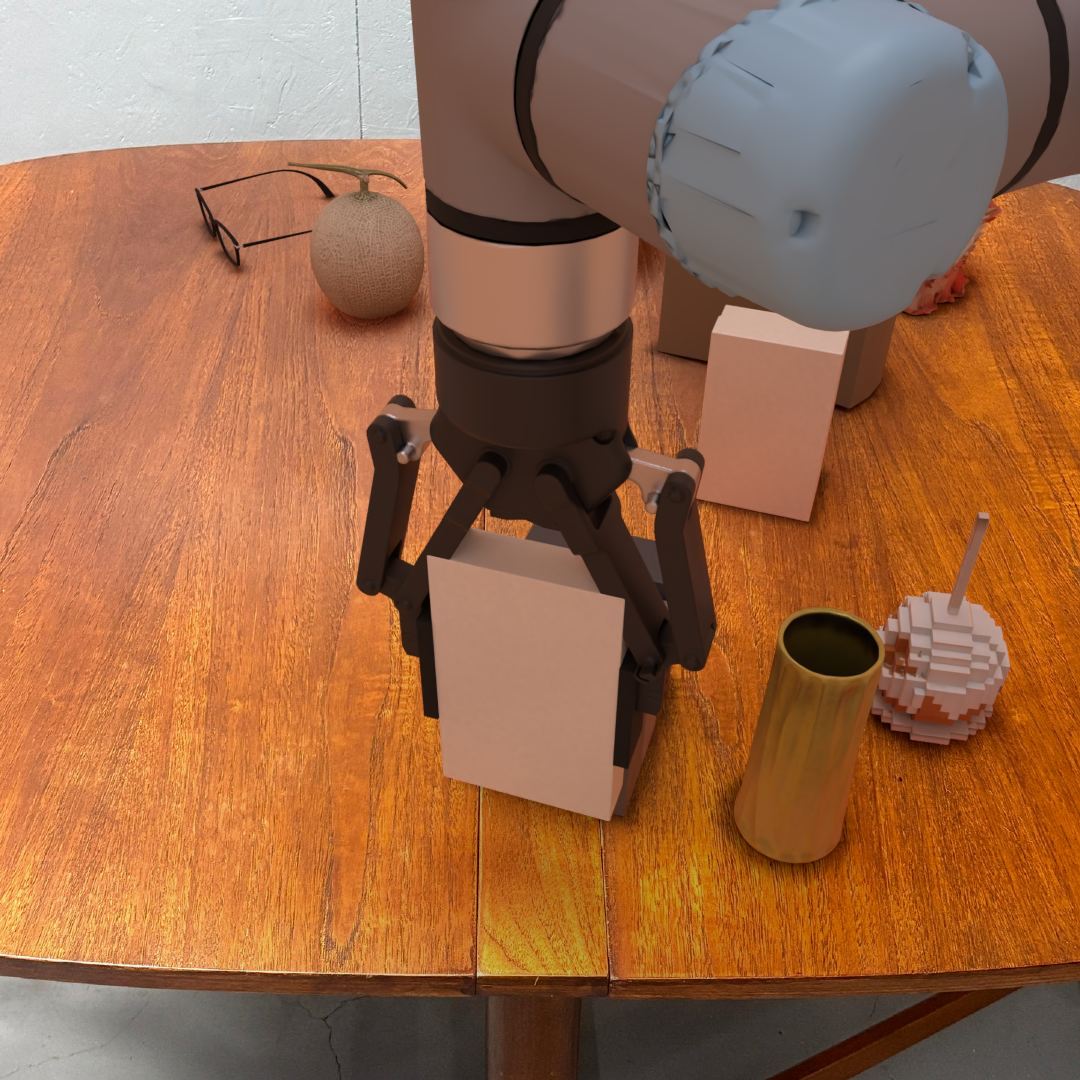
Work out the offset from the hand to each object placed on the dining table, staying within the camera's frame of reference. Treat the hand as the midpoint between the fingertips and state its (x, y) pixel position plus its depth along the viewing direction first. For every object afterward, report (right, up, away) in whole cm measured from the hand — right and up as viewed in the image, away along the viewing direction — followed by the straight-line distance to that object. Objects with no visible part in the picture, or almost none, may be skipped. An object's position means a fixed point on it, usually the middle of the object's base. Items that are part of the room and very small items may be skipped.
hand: (532, 722), depth 57 cm
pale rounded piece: (+25, -1, +16) cm, 29 cm away
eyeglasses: (-27, +42, +67) cm, 83 cm away
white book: (0, -3, +3) cm, 4 cm away
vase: (+14, -7, +9) cm, 18 cm away
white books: (+17, +13, +33) cm, 40 cm away
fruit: (-15, +31, +54) cm, 65 cm away
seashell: (+37, +36, +61) cm, 80 cm away
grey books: (+3, -3, +14) cm, 14 cm away
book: (+21, +25, +48) cm, 58 cm away
